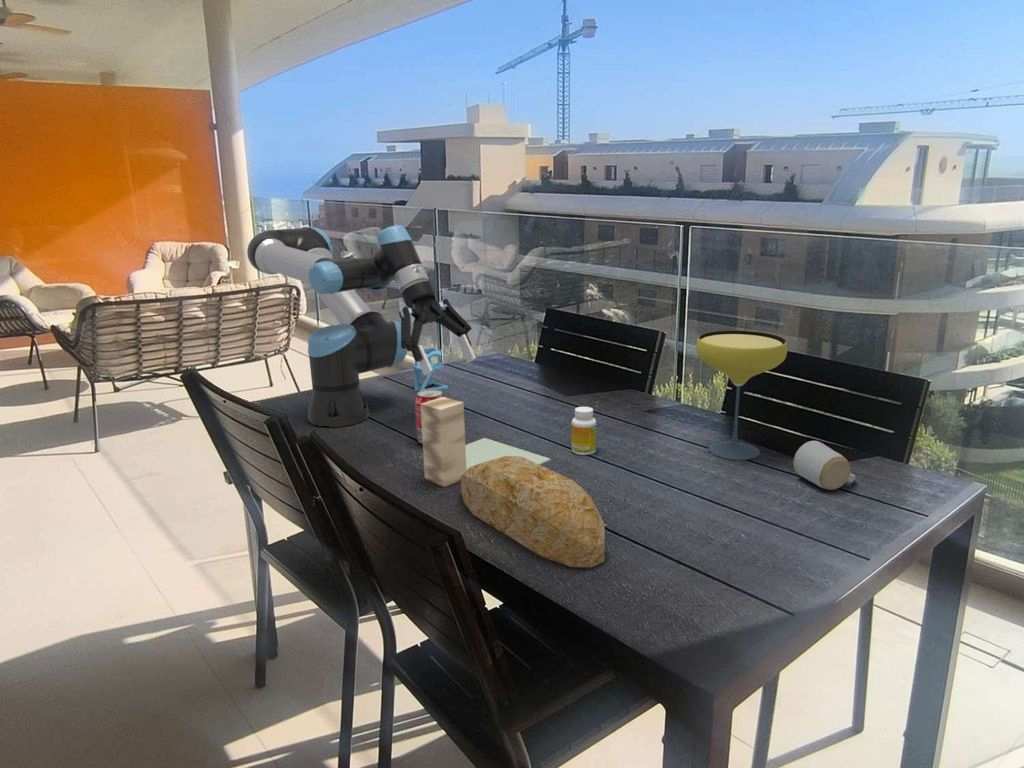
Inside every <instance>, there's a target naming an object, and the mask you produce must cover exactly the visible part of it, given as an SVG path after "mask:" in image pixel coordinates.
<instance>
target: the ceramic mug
mask: <svg viewBox="0 0 1024 768" xmlns="http://www.w3.org/2000/svg"><path fill="white" fill-rule="evenodd" d="M793 469H794V471H795V472H796V474H797V475H799V476H800V477H801V478H804V479H806V480H807V481H808V482H810V483H813V484H815V485H816V486H818V487H819V488H821V489H824V490H828V491H834V490H838V489H840V488H841V487H843V486H844V485H845V483H849V484H852V483H854V481H855V479H856V475H855V474H853V473H852V472H851V464H850V462H849V461H848V460H847V458H845V456H843V455H842V454H841V453H839V452H837V451H835V450H833V448H830V447H829V446H827V445H825V444H824V443H823V442H820V441H818V440H810V441H807V442H805V443H804V444H802V445H801V446H800V447H799V448H798V449H797V451H796V453H795V455H794V458H793Z"/></svg>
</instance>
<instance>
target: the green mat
mask: <svg viewBox="0 0 1024 768" xmlns="http://www.w3.org/2000/svg"><path fill="white" fill-rule="evenodd" d="M465 447H466V470H467V469H468V468H470V467H472V466H475V465H477V464H480V463H483V462H487V461H490V460H493V459H497V458H500V457H503V456H521V457H524V458H526V459H528V460H530V461H532V462H534V463H537V464H539V465H541V466H543V465H544V464H546V463H549V462H550V461H551V458H549V457H547V456H543V455H540V454H536V453H534V452H530V451H528V450H524V449H520V448H518V447H515V446H511V445H508V444H506V443H502V442H499V441H496V440H492V439H489V438H486V437H483V438H481V439H478V440H475V441H473V442H470V443H467V444H465Z"/></svg>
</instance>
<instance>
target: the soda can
mask: <svg viewBox="0 0 1024 768" xmlns="http://www.w3.org/2000/svg"><path fill="white" fill-rule="evenodd" d="M425 389H426V390H421V391H417V396H416V398H415V401H414V410H415V411H414V412H415V427H416V437H417V441H418V442H419V443H420V444H422V445H423V439H422V422H421V405H420V404H421V403H425V402H428V401H431V400H435V399H438V398H441V397H445V396H444V395H443V390H438V389H427V388H425Z"/></svg>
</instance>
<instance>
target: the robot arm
mask: <svg viewBox="0 0 1024 768" xmlns="http://www.w3.org/2000/svg"><path fill="white" fill-rule="evenodd" d="M376 240H377V242H378V243H377V244H378V246H379V249H378V250H377V251H376V252H375V253H374V254H373V255H372V256H366V257H358V258H356V257H355V258H348V259H334V248H333V245H331V243H332V240H330V237H329V235H328V234H327V233H326V232H325V231H324V230H322V229H320V228H318V227H309V226H303V227H300V228H299V227H297V228H284V229H283V228H281V229H280V228H279V229H268V230H264V231H262V232H261V231H260V232H259V233H258V234H256V235H255V236H254V237H252V239H251V240H250V242H249V243H248V245H247V249H246V250H247V251H246V254H247V259H248V262H249V263H250V265H251V266H252V267H253V268H254V269H255V270H256V271H258V272H260V273H264V274H266V275H272V276H273V275H277V274H280V275H282V276H285V277H288V278H291V279H295V280H297V281H300V282H303V283H306V284H309V285H310V286H311V288H312V289H313V290H314V292H315V293H316V294H317V295H318V297H319V298H320V300H321V301H322V302H323V303H324V304H325V305H326V307H327V308H328V310H329V311H330V312H331V313H332V315H333V316H334V317H335V318H336V320H337V321H338V323H339V324H331V325H326V326H323V327H321V328H318V329H316V330H314V331H312V332H311V334H310V335H309V336H308V340H307V347H308V349H307V354H308V359H309V365H310V366H309V367H310V375H311V376H310V378H311V387H312V392H311V398H310V401H309V406H308V410H307V418H308V422H309V421H310V422H311V423H313V424H315V425H314V426H316V425H320V426H319V427H321V426H330V427H329V428H339V427H346V426H353V425H355V424H359V423H361V422H364V421H366V420H367V419H368V418H369V416H370V412H369V406H368V402H367V401H366V398H365V396H364V394H363V391H362V389H361V386H360V376H359V374H360V375H361V374H364V373H368V372H371V371H373V372H374V371H376V370H380V369H385V368H392V367H394V366H395V365H396V366H397V365H399V364H401V363H402V362H403V361H404V360H405V359H406V357H407V354H408V352H411V355H412V357H413V356H414V357H413V360H414V359H415V360H414V362H415V361H416V362H418V365H420V367H421V369H422V371H423V372H422V371H421V372H422V373H423V375H424V376H426V375H427V374H428V373H430V372H431V371H432V367H431V365H430V363H429V361H428V358H427V354H425V352H424V349H425V348H424V347H423V345H422V344H419V342H420V338H421V334H422V329H423V326H424V325H426V324H428V323H431V324H432V323H434V322H435V323H436V324H440V325H441V326H442V327H444V328H445V329H447V330H448V331H449V332H451V333H452V334H453V335H455V336H457V337H458V338H457V339H456V340H457V343H458V345H459V347H460V350H461V352H462V354H463V356H464V358H465V360H466V363H467V364H468V363H471V362H472V361H474V360H475V359H477V358H476V355H475V353H474V350H473V348H472V342H471V341H470V338H469V335H468V333H469V332H470V331H471V330H472V327H471V325H470V324H469V323H468V322H467V321H466V320H465V319H464V318H463V317H462V316H461V315H460V314H459V312H458V311H456V310H455V308H454V307H453V306H452V304H451V303H450V301H449V300H448V298H444V299H443V300H442V301H438V300H437V299H436V292H435V290H434V287H433V285H432V282H430V281H429V277H428V274H427V272H426V270H425V268H424V265H423V263H422V261H421V259H420V256H419V254H418V252H417V249H416V247H415V245H414V242H413V239H412V237H411V236H410V234H409V232H408V231H407V229H406V228H405V226H403V225H400V224H396V225H390V226H388V227H386V228H384V229H382V230H381V231H380V232H379V233H378V234H377V238H376ZM393 280H394V281H395V283H396V286H397V288H398V290H399V292H400V293H401V297H402V299H403V301H404V304H405V306H404V307H403V308H401V309H400V310H399V311H398V314H399V318H400V322H399V321H397V320H390V321H387V320H386V318H385V317H384V316H383V315H382V314H381V312H379V311H377V310H372V309H370V308H369V306H368V305H367V304H366V303H365V301H363V299H362V298H361V296H359V294H358V293H357V292H356V291H355V290H365V291H367V292H370V293H372V294H375V293H379V292H381V291H383V290H384V289H386V288H388V286H389V285H390V284H391V283H392V282H393ZM412 317H413V318H414V321H413V325H411V318H412ZM411 326H413V327H411ZM411 328H412V329H411ZM411 330H412V331H411ZM311 423H310V424H311ZM313 424H312V425H313Z"/></svg>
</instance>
